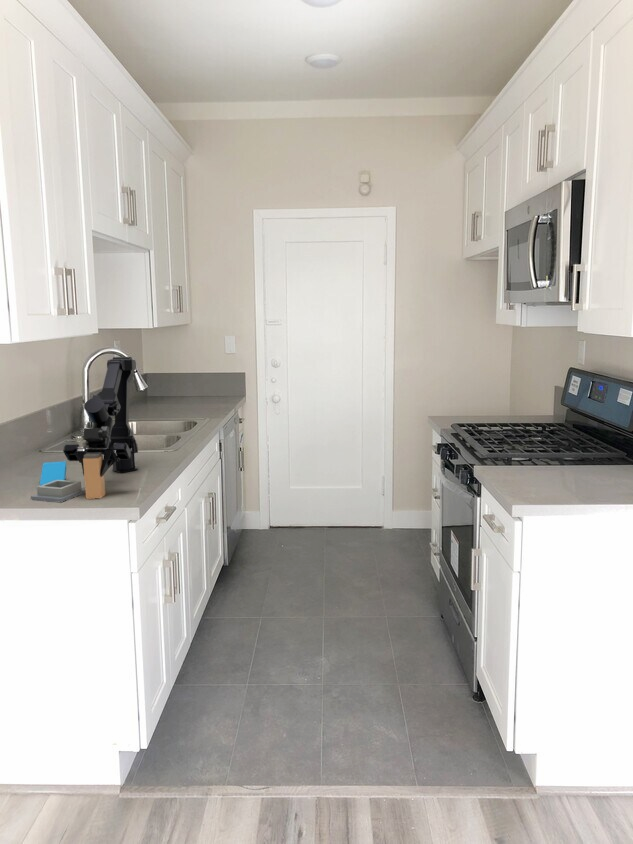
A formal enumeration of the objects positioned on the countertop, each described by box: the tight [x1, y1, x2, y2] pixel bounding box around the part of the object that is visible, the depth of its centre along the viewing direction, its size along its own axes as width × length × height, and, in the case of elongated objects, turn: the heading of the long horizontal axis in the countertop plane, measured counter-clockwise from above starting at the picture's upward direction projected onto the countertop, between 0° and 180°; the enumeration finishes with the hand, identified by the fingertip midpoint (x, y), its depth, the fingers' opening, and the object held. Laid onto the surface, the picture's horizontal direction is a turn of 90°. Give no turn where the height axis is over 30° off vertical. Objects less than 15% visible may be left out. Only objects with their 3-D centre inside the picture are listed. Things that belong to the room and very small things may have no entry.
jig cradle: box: [30, 479, 86, 503], centre depth 204 cm, size 12×11×4 cm
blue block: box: [39, 461, 67, 486], centre depth 220 cm, size 7×7×18 cm
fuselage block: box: [83, 452, 106, 500], centre depth 202 cm, size 4×4×13 cm
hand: (92, 476), depth 200 cm, fingers closed on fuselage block, 4 cm apart
